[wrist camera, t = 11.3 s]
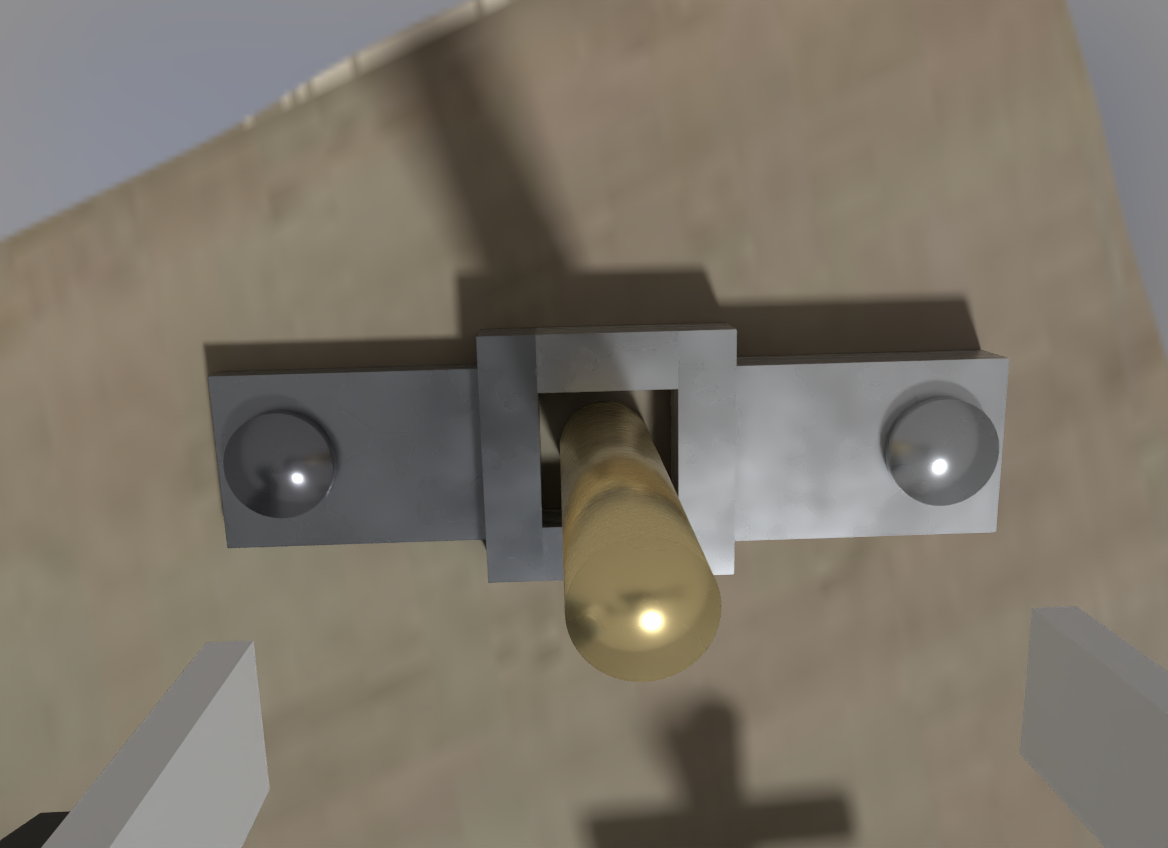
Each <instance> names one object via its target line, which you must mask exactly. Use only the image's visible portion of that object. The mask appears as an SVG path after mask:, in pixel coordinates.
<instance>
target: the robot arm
mask: <svg viewBox="0 0 1168 848" xmlns="http://www.w3.org/2000/svg"><path fill="white" fill-rule="evenodd" d="M1020 754H1021V755H1022V756H1023V757H1024V759H1025V760H1026V761H1027V762H1028V763H1029V764H1030V765H1031V766H1032V767H1033V769H1034V770H1035V771H1036V772H1037V773H1038V774H1039V775H1040V776H1041V777H1042V778H1043V780H1044V781H1045V782H1046V783H1047V784H1048V785H1049V786H1050V787H1051V788H1052V789H1053V791H1054V792H1055V793H1056V794H1057V795H1058V796H1059V797H1060V798H1061V799H1062V801H1063V802H1064V803H1065V804H1066V805H1067V806H1068V807H1069V808H1070V809H1071V810H1072V812H1073V813H1074V814H1075V815H1076V816H1077V817H1078V818H1079V819H1080V820H1081V821H1082V823H1083V824H1084V825H1085V826H1086V827H1087V828H1088V829H1089V830H1090V831H1091V833H1092V834H1093V835H1094V836H1095V837H1096V838H1097V839H1098V840H1099V841H1100V842H1101V844H1102V845H1103V846H1104V847H1105V848H1168V671H1167V670H1165V669H1164V668H1162V667H1161V666H1160V665H1158V664H1157V663H1155V662H1154V661H1153V660H1151V659H1150V658H1148V657H1147V656H1145V655H1144V654H1143V653H1141V652H1140V651H1138V650H1137V649H1136V648H1134V647H1133V646H1131V645H1130V644H1129V643H1127V642H1126V641H1124V640H1123V639H1122V638H1120V637H1119V636H1117V635H1116V634H1115V633H1113V632H1112V631H1110V630H1109V629H1108V628H1106V627H1105V626H1103V625H1102V624H1101V623H1099V622H1098V621H1096V620H1095V619H1093V618H1092V617H1091V616H1089V615H1088V614H1086V613H1085V612H1084V611H1082V610H1081V609H1079V608H1078V607H1077V606H1068V607H1044V608H1032V617H1031V629H1030V641H1029V652H1028V664H1027V676H1026V688H1025V699H1024V711H1023V723H1022V735H1021V747H1020ZM269 790H270V789H269V780H268V771H267V762H266V753H265V743H264V734H263V725H262V716H261V706H260V697H259V688H258V679H257V670H256V660H255V651H254V642H253V641H232V642H208V643H206V644H205V645H204V646H203V647H202V649H201V650H200V651H199V652H198V653H197V655H196V656H195V657H194V658H193V660H192V661H191V662H190V663H189V665H188V666H187V667H186V668H185V670H184V671H183V672H182V673H181V675H180V676H179V677H178V678H177V680H176V681H175V682H174V683H173V685H172V686H171V687H170V688H169V690H168V691H167V692H166V693H165V694H164V696H163V697H162V698H161V699H160V701H159V702H158V703H157V704H156V706H155V707H154V708H153V709H152V711H151V712H150V713H149V714H148V716H147V717H146V718H145V719H144V721H143V722H142V723H141V724H140V726H139V727H138V728H137V729H136V731H135V732H134V733H133V734H132V736H131V737H130V738H129V739H128V740H127V742H126V743H125V744H124V745H123V747H122V748H121V749H120V750H119V752H118V753H117V754H116V755H115V757H114V758H113V759H112V760H111V762H110V763H109V764H108V765H107V767H106V768H105V769H104V770H103V772H102V773H101V774H100V775H99V777H98V778H97V779H96V780H95V782H94V783H93V784H92V785H91V786H90V788H89V789H88V790H87V791H86V793H85V794H84V795H83V796H82V798H81V799H80V800H79V801H78V803H77V804H76V805H75V806H74V808H73V809H72V810H71V811H70V812H50V813H40V814H38V815H37V816H35V817H34V818H32V819H31V820H29V821H28V822H26V823H25V824H24V825H22V826H21V827H19V828H18V829H16V830H15V831H13V832H12V833H10V834H9V835H7V836H6V837H5V838H3V839H2V840H1V841H0V848H242V846H243V844H244V842H245V839H246V837H247V835H248V833H249V831H250V829H251V827H252V825H253V823H254V821H255V819H256V817H257V815H258V812H259V810H260V808H261V806H262V804H263V802H264V800H265V798H266V796H267V794H268V792H269Z"/></svg>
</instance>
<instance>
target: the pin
mask: <svg viewBox="0 0 1168 848" xmlns="http://www.w3.org/2000/svg"><path fill="white" fill-rule="evenodd" d="M560 468H561V501H562V535H563V568H564V601H565V619H566V625H567V629H568V633H569V635H570V638H571V640H572V642H573V644H574V646H575V647H576V649H577V650H578V652H579V653H580V654H581V655H582V657H583V658H584V659H585V660H586V661H587V662H588V663H590V664H591V665H592V666H593V667H595V668H596V669H598V670H599V671H601V672H603V673H605V674H607V675H609V676H612V677H614V678H618V679H621V680H626V681H633V682H648V681H656V680H660V679H665V678H667V677H670V676H673V675H675V674H677V673H679V672H681V671H683V670H685V669H686V668H688V667H689V666H691V665H692V664H693V663H694V662H695V661H697V660H698V659H699V658H700V657H701V656H702V654H703V653H704V652H705V651H706V650H707V648H708V647H709V645H710V644H711V642H712V640H713V638H714V636H715V634H716V632H717V629H718V626H719V621H720V617H721V597H720V592H719V588H718V585H717V582H716V579H715V577H714V575H713V573H712V570H711V568H710V566H709V564H708V562H707V559H706V557H705V555H704V553H703V551H702V548H701V546H700V544H699V542H698V540H697V537H696V535H695V533H694V531H693V529H692V526H691V524H690V522H689V520H688V518H687V515H686V513H685V511H684V509H683V506H682V504H681V502H680V500H679V498H678V495H677V493H676V491H675V489H674V487H673V484H672V482H671V480H670V478H669V476H668V473H667V471H666V469H665V467H664V465H663V462H662V460H661V458H660V456H659V453H658V451H657V449H656V447H655V445H654V442H653V440H652V438H651V436H650V434H649V431H648V429H647V427H646V425H645V423H644V422H643V420H642V419H641V418H640V416H639V415H638V414H637V413H635V412H634V411H633V410H632V409H630V408H628V407H627V406H624V405H622V404H619V403H615V402H606V401H604V402H596V403H592V404H589V405H587V406H585V407H583V408H581V409H580V410H578V411H577V412H576V413H575V414H573V415H572V417H571V418H570V419H569V420H568V422H567V423H566V425H565V427H564V429H563V431H562V435H561V439H560Z"/></svg>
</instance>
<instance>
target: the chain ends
mask: <svg viewBox="0 0 1168 848" xmlns="http://www.w3.org/2000/svg"><path fill="white" fill-rule="evenodd" d="M476 346H477V364H472V365H437V366H402V367H367V368H332V369H297V370H263V371H228V372H217V373H215V374H213V375H210V376H208V382H209V391H210V400H211V409H212V417H213V426H214V435H215V444H216V452H217V461H218V470H219V478H220V487H221V496H222V505H223V513H224V522H225V531H226V540H227V548H247V547H276V546H306V545H335V544H365V543H395V542H424V541H454V540H484V539H486V547H487V568H488V583H496V582H524V581H553V580H564V568H563V535H562V509H543V498H542V469H541V441H540V413H539V393H561V392H595V391H629V390H663V389H671V482H672V484H673V487H674V489H675V491H676V493H677V495H678V498H679V500H680V502H681V504H682V506H683V509H684V511H685V513H686V515H687V518H688V520H689V522H690V524H691V526H692V529H693V531H694V533H695V535H696V537H697V540H698V542H699V544H700V546H701V548H702V551H703V553H704V555H705V557H706V559H707V562H708V564H709V566H710V568H711V570H712V573H713V575H724V574H734V541H747V540H777V539H806V538H836V537H865V536H894V535H924V534H953V533H982V532H996V525H997V512H998V499H999V486H1000V473H1001V460H1002V447H1003V434H1004V421H1005V408H1006V395H1007V383H1008V370H1009V358H1007V357H1004V356H1000V355H997V354H994V353H990V352H987V351H984V350H960V351H925V352H890V353H855V354H821V355H786V356H751V357H737V329H736V328H734V327H732V326H730V325H729V324H727V323H694V324H658V325H622V326H586V327H550V328H514V329H481V330H480V331H479V333H478V334H477V336H476Z"/></svg>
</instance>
